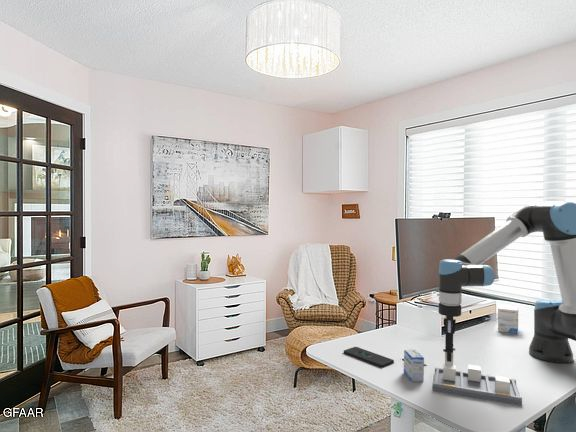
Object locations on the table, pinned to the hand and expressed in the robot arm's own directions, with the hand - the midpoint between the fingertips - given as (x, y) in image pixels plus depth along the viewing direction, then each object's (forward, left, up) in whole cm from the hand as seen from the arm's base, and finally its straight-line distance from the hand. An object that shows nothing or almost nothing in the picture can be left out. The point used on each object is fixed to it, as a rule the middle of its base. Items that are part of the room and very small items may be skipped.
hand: (449, 369), depth 141 cm
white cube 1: (-16, +7, -2) cm, 18 cm away
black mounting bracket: (+13, -11, -4) cm, 18 cm away
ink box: (-26, -72, -4) cm, 77 cm away
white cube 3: (0, +3, -2) cm, 3 cm away
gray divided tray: (-8, +4, -4) cm, 10 cm away
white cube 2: (-8, 0, -2) cm, 8 cm away
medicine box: (+12, +3, -4) cm, 13 cm away
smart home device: (+31, -9, -4) cm, 32 cm away
